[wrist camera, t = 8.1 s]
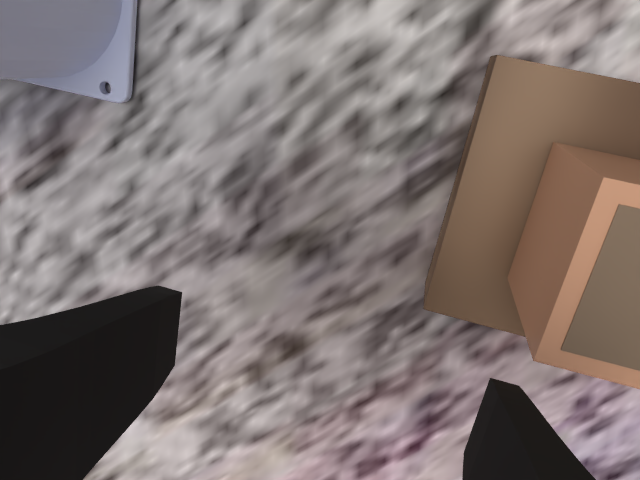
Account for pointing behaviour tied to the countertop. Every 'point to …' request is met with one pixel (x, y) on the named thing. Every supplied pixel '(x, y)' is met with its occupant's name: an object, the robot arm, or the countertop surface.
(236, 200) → the countertop surface
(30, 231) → the countertop surface
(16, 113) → the countertop surface
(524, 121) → the walnut block
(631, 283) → the terracotta pot
